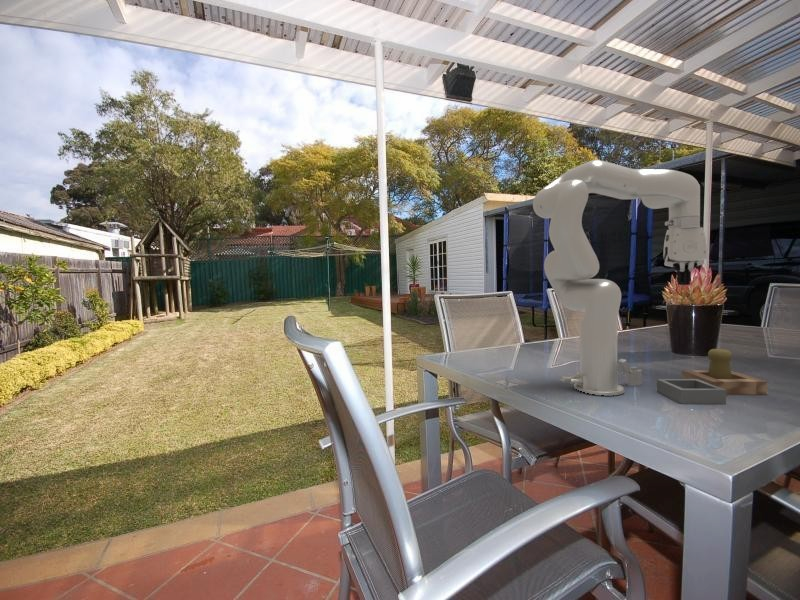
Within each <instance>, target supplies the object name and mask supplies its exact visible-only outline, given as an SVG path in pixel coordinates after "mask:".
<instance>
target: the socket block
mask: <svg viewBox="0 0 800 600" xmlns="http://www.w3.org/2000/svg"><path fill="white" fill-rule="evenodd" d="M708 372H709V369H695V370H694V369H692V370H691V369H690V370H689V369H683V370H681V373H682V374H681V379H698V380H701V381H704V382H706V383H709V384H712V385H714V386H717V387H720V388H722V389H725V390H726V396H727V395H731V396H734V395H735V396H737V395H741V396H742V395H743V396H744V395H746V396H748V395H749V396H750V395H751V396H752V395H754V396H756V395H757V396H758V395H759V396H761V395H762V396H763V395H765V396H767V395H768V381H767V380H763V379H760V378H757V377H753V376H751V375H748V374H743V373H740V372H736V371H733V370H731V375H732V379H715V378H712V377H709V376H708Z"/></svg>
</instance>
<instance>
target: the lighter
mask: <svg viewBox="0 0 800 600" xmlns="http://www.w3.org/2000/svg"><path fill="white" fill-rule="evenodd" d="M617 364H618V365H619V367H620V369H621V372H622V373H623V374H625V375H626V376H625V377H626V385H627V386H630V387H635V386H634V385H637V386H642V385H643V370H642V369H639V368H638V366H629V365H628V362H627V359H624V358H620V359H617Z"/></svg>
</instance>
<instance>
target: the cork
mask: <svg viewBox="0 0 800 600" xmlns="http://www.w3.org/2000/svg"><path fill="white" fill-rule="evenodd" d="M707 357H708V359H709V366H708V370H709V372H708V376H709V377H712V378H715V379H732V375H731V371H732V370H731V365H730V362H731V361H732V360H733V355H732V352H731V351H730V350H728V349H725V348H724V349H723V348H712V349H710V350H709V351H708V352H707Z"/></svg>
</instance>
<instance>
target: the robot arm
mask: <svg viewBox="0 0 800 600" xmlns="http://www.w3.org/2000/svg"><path fill="white" fill-rule="evenodd" d="M589 194H596V195H601V196H605V197H611V198H613V199H618V200H636V199H641V202H642V204H643V205H644V206H645V207H646V208H649V209H652V210H657V209H665V208H668V221H665V222H664V226H666V227H668V229H667V230H666V233H665V237H664V243H663V251H662V252H663V255H662V256H663V260H664V263H663V264H664V266H666V267H671V268H672V269H673V270H674V272H676V282H677V285H678V286H690V285H691V282H692V272H693V271H694V269H695V268H696V267H698V266H702V265H704V264H705V260H706V259H707V257H708V249H707V248H708V246H707V238H706V233H705V231H704V227H703V226H702V227H701V223H700V222H701V185H700V184H699V182H698V180H697V179H696V178H695V177H694V176H693V175H691V174H689V173H686V172H683V171H679V170H676V169H675V170H674V169H661V168H660V169H659V168H657V169H656V168H654V169H650V168H648V169H647V168H641V169H639V168H638V169H637V168H630V167H627V166H624V165H618V164H615V163H612V162H609V161H605V160H599V159H594V160H593V159H592V160H590V161H587V162H584V163H582V164H580V165H578V166H577V165H576V166H575V167H573V168H570V169H568V170H567V171H565V172H564V173H562V174H561V175H560V176H559V177H557V178H555V180H553V181H552V182H550V183H548V184H547V185H546V186H545V187H544V188H542V189H541V190H539V191H538V192H537V193H536V195H535V196H534V198H533V201H532V209H533V211H534V213H535V214H536V216H538V217H540V218H542V219H550V221H549V227H548V236H549V240H550V243H551V245H552V247H553V249H554V250H552V251H551V252H549V253H548V254H547V255H546V257H545V259H544V263H543V269H544V274H545V276H546V278H547V280H548V282H549V283H550V286H551V287H552V290H553V291H554V293H555V294H556V296H557V298H558V300H559V302H560V303H561V304H562V306H563V307H564V308H566V309H567V310H570V311H576V312H583V313H584V314H583V315H582V318H581V320H580V323H579V327H578V328H579V331H578V334H579V335H578V336H579V371H575V373H576V374H573V375H562V376H561V381H562V383H569V384H570V385H571V384H572V385H573V388H574V389H575V390H576V389H577V390H576V391H578V390H579V391H578V392H580V391H582V392H581V393H583V392H585V393H584V394H587V393H589V394H588V395H592V394H595V395H594V396H601V395H604V396H605V397H608V396H609V397H610V396H613V395H614V396H619V395H623V393H625V391H624V390H625V387H624V386H622V385H621V384H619V383H618V318H619V312H620V311H619V310H620V306H621V301H622V291H621V288H620V286H618V284H617V283H616V282H615V281H612V280H610V279H606V278H594V277H596V275H597V274H598V273H599V270H600V262H599V260H598V256H597V254H596V253H595V251H594V249H593V247H592V245H591V243H590V240H589V239H588V237H587V235H586V233H585V231H584V228H583V224H582V220H583V213H584V211H585V207H586V205H587V203H588V201H589V200H588V199H589ZM604 396H603V397H604Z"/></svg>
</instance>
